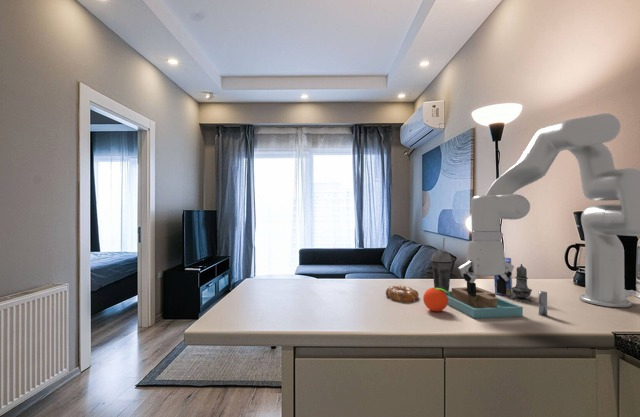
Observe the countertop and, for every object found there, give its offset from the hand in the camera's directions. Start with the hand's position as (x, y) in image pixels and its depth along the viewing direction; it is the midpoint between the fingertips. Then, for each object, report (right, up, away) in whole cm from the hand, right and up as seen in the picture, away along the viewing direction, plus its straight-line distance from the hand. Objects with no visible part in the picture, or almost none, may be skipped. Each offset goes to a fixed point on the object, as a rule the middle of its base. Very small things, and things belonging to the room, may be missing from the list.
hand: (486, 294), depth 97 cm
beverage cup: (-6, -5, +21) cm, 22 cm away
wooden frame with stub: (-1, -4, +4) cm, 6 cm away
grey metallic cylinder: (+14, -5, -3) cm, 16 cm away
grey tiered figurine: (+18, -5, +12) cm, 22 cm away
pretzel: (-21, -6, +15) cm, 27 cm away
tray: (-1, -5, +4) cm, 7 cm away
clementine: (-15, -5, 0) cm, 15 cm away
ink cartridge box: (+17, -5, +22) cm, 29 cm away
